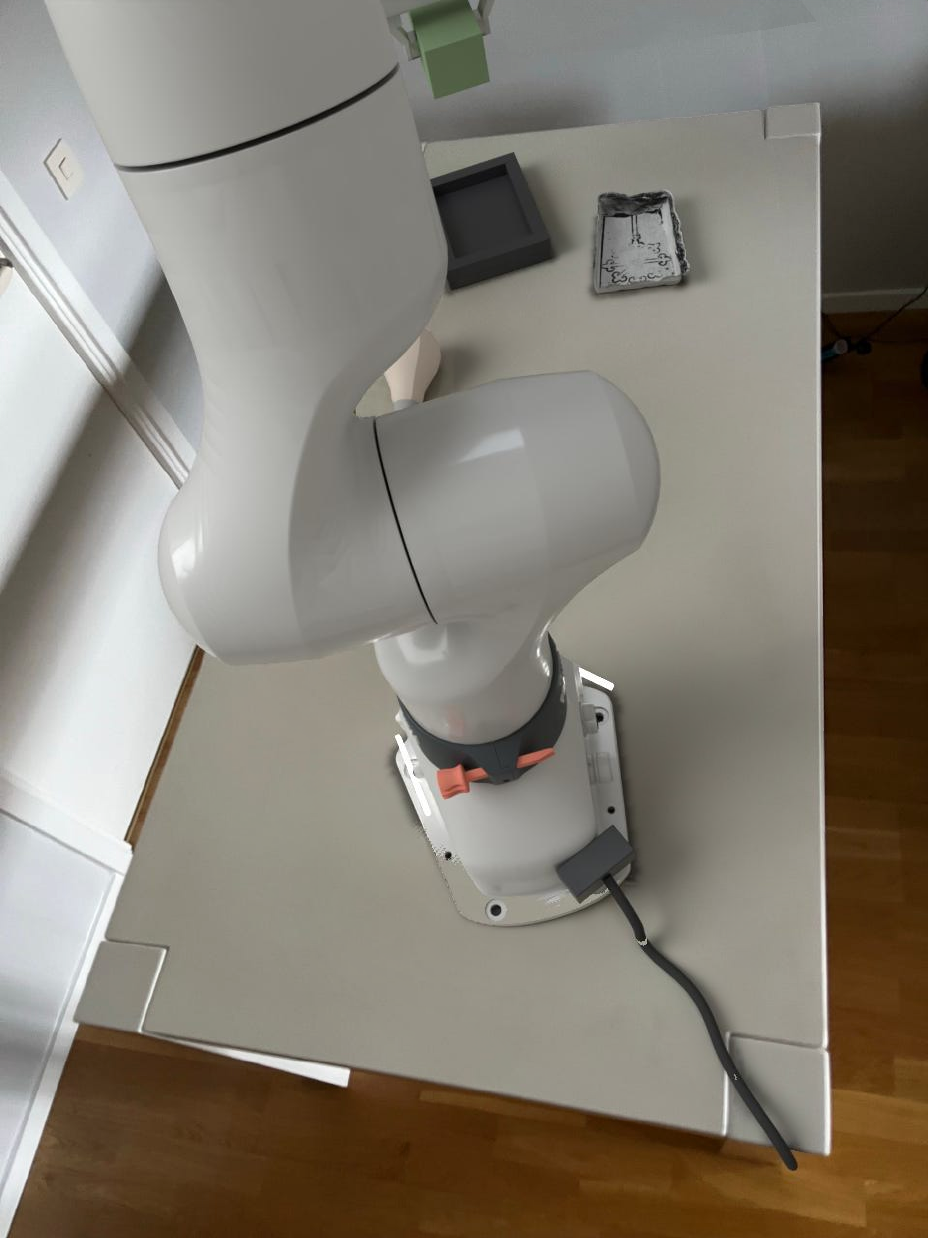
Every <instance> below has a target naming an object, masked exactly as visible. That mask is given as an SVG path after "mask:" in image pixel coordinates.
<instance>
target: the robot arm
mask: <svg viewBox="0 0 928 1238" xmlns="http://www.w3.org/2000/svg"><path fill="white" fill-rule="evenodd" d="M439 1H442V0H43V2H44V4H45V7H46V10H47V12H48V15H49V17H50V21H51V22H52V26H53V28H54V31H55V33H56V36H57V38H58V41H59V44H60V47H61V49H62V52H63V54H64V57H65V59H66V61H67V64H68V66H69V69H70V71H71V73H72V74H71V75H72V76H73V78H74V80H75V83H76V85H77V88H78V90H79V92H80V95H81V98H82V99H83V102H84V105H85V107H86V109H87V111H88V114H89V116H90V117H91V120H92V122H93V124H94V126H95V128H96V131H97V134H98V135H99V137H100V140H101V141H102V144H103V146H104V148H105V150H106V152H107V154H108V156H109V158H110V161H111V162H112V163H113V167H114V169H115V172H116V173H117V175H118V177H119V179H120V181H121V184H122V185H123V188H124V189H125V192H126V194H127V196H128V198H129V200H130V202H131V204H132V206H133V209H135V210H134V211H135V212H136V214H137V217H138V218H139V220H140V223H141V225H142V227H143V229H144V231H145V233H146V236H147V238H148V240H149V242H150V245H151V247H152V249H153V252H154V253H155V256H156V257H157V260H158V261H159V264H160V266H161V269H162V271H163V274H164V276H165V278H166V281H167V283H168V286H169V288H170V290H171V292H172V296H173V298H174V300H175V302H176V304H177V308H178V309H179V313H180V315H181V318H182V321H183V323H184V325H185V329H186V331H187V334H188V336H189V339H190V342H191V344H192V348H193V350H194V353H195V358H196V362H197V366H198V370H199V371H198V372H199V375H200V381H201V388H202V423H201V424H202V425H201V433H200V438H199V443H198V448H197V451H196V454H195V459H194V460H193V463H192V466H191V468H190V471H189V473H188V475H187V477H186V478H185V480H184V482H183V483H182V486H181V487H180V488H179V490H178V491H177V493H176V494H175V495H174V497H173V498H172V499H171V501H170V503H169V506H168V508H167V509H166V512H165V514H164V517H163V520H162V524H161V525H160V530H159V536H158V541H157V542H158V543H157V559H156V560H157V561H156V562H157V573H158V578H159V582H160V587H161V591H162V594H163V596H164V599H165V602H166V604H167V606H168V608H169V610H170V612H171V614H172V615H173V618H174V619H175V620H176V622H177V624H178V625H179V626H180V628H181V629H182V630H183V631H184V633H185V634H186V635H187V636H188V637H189V639H191V640H192V642H194V644H196V645H197V646H198V647H199V648H200V649H202V650H203V651H204V652H206V653H207V654H209V655H210V656H211V657H213V658H214V659H216V660H218V661H220V662H222V663H224V664H225V665H227V666H231V667H244V666H257V665H274V664H282V663H283V664H284V663H292V662H293V663H294V662H301V661H302V662H304V661H313V660H321V659H324V658H329V657H330V656H334V655H339V654H341V653H345V652H349V651H351V650H355V649H358V648H361V647H364V646H365V647H366V646H368V645H372V644H373V649H374V654H375V659H376V661H377V665H378V667H379V670H380V671H381V674H382V675H383V677H384V678H385V680H386V681H387V683H388V684H389V686H390V687H391V688H392V690H393V691H394V692H395V694H396V698H397V701H398V705H399V709H398V712H397V714H396V715H395V716H394V717H395V721H396V723H397V724H399V726H400V727H401V728H402V729H403V730H404V732H405V733H406V737H407V738H406V740H405V741H404V742H403V739H402V737H401V736H400V734H397V735H395V739H396V741H397V744H398V746H399V748H398V750H397V751H396V755H395V763H396V766H397V768H398V771H399V773H400V776H401V779H402V780H403V783H404V785H405V788H406V791H407V793H408V795H409V798H410V799H411V802H412V804H413V805H414V809H415V811H416V813H417V816H418V818H419V821H420V823H421V825H422V827H423V830H424V833H425V835H426V834H427V835H426V838H427V839H428V838H429V840H428V842H429V841H431V844H433V845H432V847H431V849H432V848H433V849H434V847H436V848H435V849H434V851H433V849H432V851H433V853H434V852H436V850H438V849H439V850H438V852H437V853H436V856H437V855H439V853H441V852H442V853H441V855H440V856H443V855H444V854H443V853H445V856H444V857H445V858H446V859H448V860H449V859H450V858H452V857H455V855H457V856H456V857H455V858H454V859H453V860H452V862H454V860H457V859H456V858H460V859H459V860H458V861H461V862H462V864H461V865H463V866H464V868H465V870H466V871H467V873H468V875H469V876H470V877H471V879H472V880H473V881H474V883H475V885H476V886H477V888H478V889H479V890H480V891H481V892H482V893H484V894H485V895H489V896H492V897H495V896H496V897H502V898H504V897H510V898H512V897H515V896H520V897H528V898H531V897H534V896H533V895H535V896H538V895H541V897H540V898H539V899H538V900H542V899H546V898H549V897H552V896H555V895H558V896H556V897H554V898H552V899H550V900H549V901H547V902H546V903H549V902H552V903H553V901H555V902H557V901H556V900H559V899H561V898H562V897H565V896H567V895H566V894H568V893H571V894H572V896H573V897H574V898H575V899H576V901H577V902H578V903H579V904H581V903H582V902H583V901H584V900H585V899H587V898H588V897H589V896H590V895H592V894H595V895H596V894H600V893H602V894H603V892H604V893H605V890H606V889H607V888H608V890H609V891H607V892H606V893H605V894H603V895H602V896H600V897H599V898H597V899H595V900H593V901H591V902H590V903H587V904H585V905H583V906H581V907H579V908H576V909H573V910H571V911H568V912H565V913H562V914H559V915H555V916H552V917H548V918H544V919H540V920H535V921H529V922H523V923H513V924H496V923H488V924H487V925H486V926H491V927H520V926H521V927H522V926H528V925H533V924H538V923H543V922H547V921H551V920H555V919H558V918H561V917H564V916H569V915H571V914H574V913H576V912H579V911H581V910H583V909H586V908H588V907H590V906H592V905H594V904H596V903H598V902H600V901H601V900H603V899H604V898H605V897H607V896H609V895H610V894H611V896H612V897H613V899H614V900H615V902H616V903H617V906H618V907H619V908H620V910H621V911H622V913H623V915H624V916H625V918H626V919H627V921H628V922H629V924H630V926H631V928H632V929H633V930H632V931H633V933H634V937H635V940H636V939H637V940H638V941H640V942H642V941H645V939H646V937H647V935H646V931H645V927H644V924H643V922H642V920H641V919H640V917H639V914H638V913H637V911H636V910H635V908H634V907H633V906H632V904H631V902H630V901H629V899H628V897H627V896H626V895H625V893H624V891H623V890H622V889H621V887H620V885H621V884H622V883H623V882H624V881H625V880H626V878H627V877H628V876H629V874H630V873H631V869H632V863H633V861H635V860H636V852H635V848H634V847H633V846H632V845H631V843H630V842H629V833H628V825H627V815H626V808H625V799H624V792H623V791H624V790H623V784H622V774H621V765H620V757H619V748H618V740H617V732H616V722H615V714H614V705H613V703H612V701H611V697H610V696H609V695H608V694H607V693H605V692H604V691H602V690H600V689H597V688H594V687H592V686H587V685H583V679H582V678H585V679H587V680H589V681H592V682H594V683H595V684H597V685H600V686H602V687H604V688H606V689H608V690H610V691H612V690H613V688H614V683H612V682H610V681H608V680H606V679H604V678H601V677H599V676H597V675H595V674H593V673H591V672H590V671H587V670H585V669H583V668H581V667H580V665H579V663H577V662H574V660H572V659H570V658H568V657H566V656H564V655H562V654H560V652H559V650H558V649H557V644H556V642H555V641H554V639H553V637H552V636H551V633H550V632H549V630H548V629H549V628H550V627H551V625H552V624H553V622H554V621H555V620H556V619H557V617H558V616H559V615H560V614H561V612H562V611H563V610H564V609H565V607H567V605H568V604H569V603H570V602H571V601H572V600H573V599H574V598H575V597H576V596H577V595H578V594H579V593H580V592H582V591H583V590H584V589H585V588H586V587H587V586H588V585H589V584H590V583H592V582H593V581H594V580H595V579H597V578H598V577H599V576H601V575H603V574H604V572H606V571H608V570H609V569H611V568H613V566H614V565H616V564H618V563H620V562H621V561H623V560H624V559H626V558H628V557H629V556H631V555H632V554H634V553H635V552H637V551H639V549H640V548H641V547H642V545H643V544H644V542H645V540H646V539H647V536H648V534H649V532H650V530H651V528H652V526H653V524H654V520H655V518H656V515H657V511H658V508H659V503H660V496H661V486H662V474H661V473H662V471H661V461H660V456H659V451H658V447H657V444H656V441H655V438H654V437H655V436H654V435H653V433H652V430H651V428H650V426H649V424H648V422H647V421H646V419H645V417H644V415H643V413H642V412H641V411H640V410H639V408H638V406H637V405H636V404H635V403H634V401H632V399H631V398H630V397H629V395H627V394H626V393H625V392H624V391H623V390H622V389H621V388H620V387H619V386H618V385H616V384H615V383H613V382H612V381H611V380H609V379H608V378H606V377H604V376H603V375H601V374H599V373H597V372H595V371H594V370H591V369H584V370H572V371H559V372H547V373H538V374H530V375H521V376H511V377H504V378H497V379H494V380H491V381H487V382H484V383H481V384H478V385H475V386H471V387H468V388H465V389H462V390H458V391H456V392H452V393H449V394H446V395H443V396H440V397H436V398H433V399H429V400H427V401H423V403H420V404H416V405H413V406H410V407H407V408H403V409H400V410H397V411H394V412H393V411H391V412H387V413H385V414H381V415H378V416H376V415H371V416H365V417H364V416H359V415H357V414H356V415H355V414H354V413H353V412H354V410H355V409H357V406H358V405H359V403H360V401H361V400H362V399H363V397H364V395H365V394H366V393H367V392H368V390H369V389H370V388H371V386H373V385H374V384H375V382H376V381H377V380H379V378H380V377H381V376H382V375H384V374H383V373H384V372H385V371H387V370H388V369H389V368H390V367H391V366H392V365H393V364H394V363H395V362H396V361H397V360H398V359H399V358H400V357H402V356H403V355H404V354H405V353H406V351H407V350H408V349H409V348H410V347H411V346H412V345H413V344H414V342H415V341H416V340H417V339H418V337H419V336H420V335H421V333H422V332H423V330H424V329H426V327H427V326H428V324H429V323H430V320H431V319H432V317H433V315H434V313H435V311H436V310H437V308H438V306H439V303H440V301H441V298H442V296H443V292H444V289H445V285H446V282H447V278H446V276H447V267H448V248H447V242H446V238H445V234H444V230H443V227H442V223H441V219H440V215H439V212H438V208H437V204H436V200H435V196H434V193H433V189H432V185H431V181H430V179H431V178H430V174H429V170H428V167H427V162H426V158H425V155H424V152H423V148H422V144H421V139H420V137H419V132H418V128H417V125H416V121H415V118H414V114H413V110H412V105H411V103H410V98H409V94H408V91H407V88H406V87H407V86H406V84H405V83H406V82H405V79H404V76H403V71H402V68H401V64H400V62H399V58H398V54H397V52H396V51H397V50H396V47H395V44H394V40H393V37H394V38H395V39H396V40H397V41H398V42H399V43H400V45H402V48H403V51H404V54H405V58H406V61H407V62H412V61H414V60H416V59H420V57H421V52H420V49H419V48H420V47H419V43H418V39H417V36H416V34H415V31H414V30H413V31H412V30H409V31H406V30H405V28H404V27H403V23H402V22H403V21H402V18H401V15H404V14H406V13H407V12H410V11H413V10H415V9H418V8H421V7H424V6H427V5H430V4H433V3H436V2H439ZM494 4H495V0H478V3H477V7H476V8H474V9H472V10H473V13H474V15H475V17H476V20H477V22H478V25H479V27H480V29H481V32H482V35H483V37H485V36H488V35H490V34H491V25H490V20H489V16H490V15H491V12H492V9H493V8H494V7H493V6H494ZM407 14H408V13H407ZM392 36H393V37H392ZM598 716H600V717H602V718H603V719H602V721H600V722H599V720H598V719H597V717H598ZM610 810H613V811H614V812H612V813H610V812H609V811H610ZM425 829H426V830H425ZM425 831H426V832H425ZM431 844H430V845H431ZM442 845H443V846H442ZM440 847H441V848H440ZM443 848H446V849H445V850H444V849H443ZM442 850H444V851H442ZM445 851H449V852H445ZM449 855H451V856H450V858H448V856H449ZM436 856H435V859H436V860H437V858H436ZM440 856H439V857H440ZM443 859H444V858H443ZM441 861H442V860H441ZM458 861H457V863H459V862H458ZM438 865H439V864H438ZM455 865H456V864H455ZM461 865H460V866H461ZM439 867H440V865H439ZM463 870H464V869H463ZM441 874H443V872H442V871H441ZM443 877H444V876H443ZM444 879H445V877H444ZM617 880H618V881H619V880H620V881H619V882H618V881H617ZM617 882H618V883H617ZM446 885H447V886H448V884H447V883H446ZM566 889H568V890H569V891H567V890H566ZM564 890H566V891H567V892H565V893H563V894H560V892H561V893H562V891H563V892H564ZM449 892H450V893H451V891H450V890H449ZM554 894H555V895H554ZM559 894H560V895H559ZM551 895H552V896H551ZM564 895H565V896H564ZM568 895H569V894H568ZM530 896H531V897H530ZM548 896H549V897H548ZM561 896H562V897H561ZM451 897H452V899H453V900H454V898H453V896H452V895H451ZM544 897H545V898H544ZM560 897H561V898H560ZM516 898H517V897H516ZM541 898H542V899H541ZM538 900H537V901H538ZM546 900H547V899H546ZM559 901H560V900H559ZM546 903H545V904H546ZM549 904H550V903H549ZM546 905H547V904H546ZM455 906H456V908H457V910H458V911H459V909H458V907H457V905H456V904H455ZM558 906H560V905H558ZM495 907H500V908H501V909H500V910H501V911H500V913H499V914H498V915H494V914H493V909H494V908H495ZM556 907H557V906H556ZM506 911H507V908H506V905H505V903H504V902H503V901H502V900H500V899H492V900H490V901H489V902H488V903H487V904H486V907H485V914H486V916H487V918H488V919H489V920H490V919H491V921H494V922H497V921H500V920H502V919H503V918H504V917H505V915H506ZM459 913H460V915H461V914H462V913H461V912H459ZM492 917H493V918H492ZM467 920H468V921H471V919H470V918H469V919H467ZM477 922H479V921H477V920H475V921H474V922H473V923H477ZM479 924H480V925H485V923H484V922H482V921H481V923H479ZM492 924H495V926H493V925H492ZM502 925H503V926H502ZM637 940H636V941H637ZM637 944H638V945H639V948H640V949H641V950H642V951H643V952H644V953H645V954H646V955H647V957H648V958H649V959H650V960H651V961H652V962H653V963H655V964H656V965H657V966H658V967H659V968H660V969H661V970H662V971H664V972H665V973H666V974H667V975H669V976H670V977H671V978H672V979H673V980H674V981H675V982H676V983H677V984H678V985H680V987H681V988H682V989H683V990H684V991H685V992H686V993H687V994H688V996H689V997H690V998H691V1000H692V1002H693V1003H694V1004H695V1006H696V1008H697V1010H698V1012H699V1014H700V1015H701V1018H702V1020H703V1022H704V1024H705V1027H706V1030H707V1033H708V1035H709V1038H710V1041H711V1043H712V1046H713V1048H714V1050H715V1053H716V1055H717V1057H718V1060H719V1062H720V1064H721V1066H722V1067H723V1070H724V1071H725V1073H726V1075H727V1077H728V1078H729V1080H730V1081H731V1083H732V1085H733V1087H734V1088H735V1090H736V1091H737V1093H738V1095H739V1096H740V1097H741V1099H742V1101H743V1103H744V1104H745V1105H746V1107H747V1108H748V1111H750V1113H751V1114H752V1116H753V1117H754V1119H755V1120H756V1122H757V1123H758V1124H759V1126H760V1127H761V1129H762V1130H763V1132H764V1133H765V1135H766V1136H767V1138H768V1139H769V1141H770V1142H771V1144H772V1146H773V1147H774V1148H775V1147H776V1148H775V1150H776V1152H777V1153H778V1155H779V1157H780V1158H781V1161H783V1164H784V1165H785V1167H786V1168H787V1170H790V1171H791V1172H795V1171H797V1170H798V1168H799V1165H798V1161H797V1159H796V1157H795V1156H794V1154H793V1152H792V1151H791V1148H790V1147H789V1145H788V1144H787V1142H786V1141H785V1139H784V1138H783V1136H782V1135H781V1133H780V1132H779V1130H778V1128H777V1127H776V1126H775V1125H774V1123H773V1121H772V1120H771V1119H770V1117H769V1115H768V1114H767V1112H766V1111H765V1110H764V1109H763V1107H762V1105H761V1104H760V1103H759V1101H758V1100H757V1098H756V1097H755V1095H754V1094H753V1093H752V1091H751V1089H750V1088H749V1086H748V1085H747V1083H746V1081H745V1080H744V1078H743V1077H742V1075H741V1073H740V1071H739V1069H738V1068H737V1066H736V1065H735V1063H734V1061H733V1058H732V1057H731V1055H730V1052H729V1051H728V1049H727V1046H726V1044H725V1042H724V1041H725V1040H724V1039H723V1036H722V1034H721V1031H720V1028H719V1026H718V1023H717V1021H716V1018H715V1016H714V1013H713V1011H712V1009H711V1007H710V1006H709V1005H710V1004H708V1002H707V1000H706V998H705V997H704V996H703V994H702V992H701V991H700V990H699V988H698V987H697V986H696V984H694V982H693V981H692V980H691V979H690V978H689V977H688V976H687V975H686V974H685V973H684V972H683V971H682V970H681V969H680V968H679V967H677V966H676V965H674V963H673V962H671V961H670V960H668V959H667V957H665V956H664V955H663V954H662V953H661V952H659V951H658V949H657V948H655V946H654V945H653V944H652V942H650V940H649V939H648V938H647V944H646V945H644V946H643V945H640V944H639V943H638V942H637ZM734 1074H735V1075H736V1077H737V1078H736V1079H737V1080H735V1076H734Z"/></svg>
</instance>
